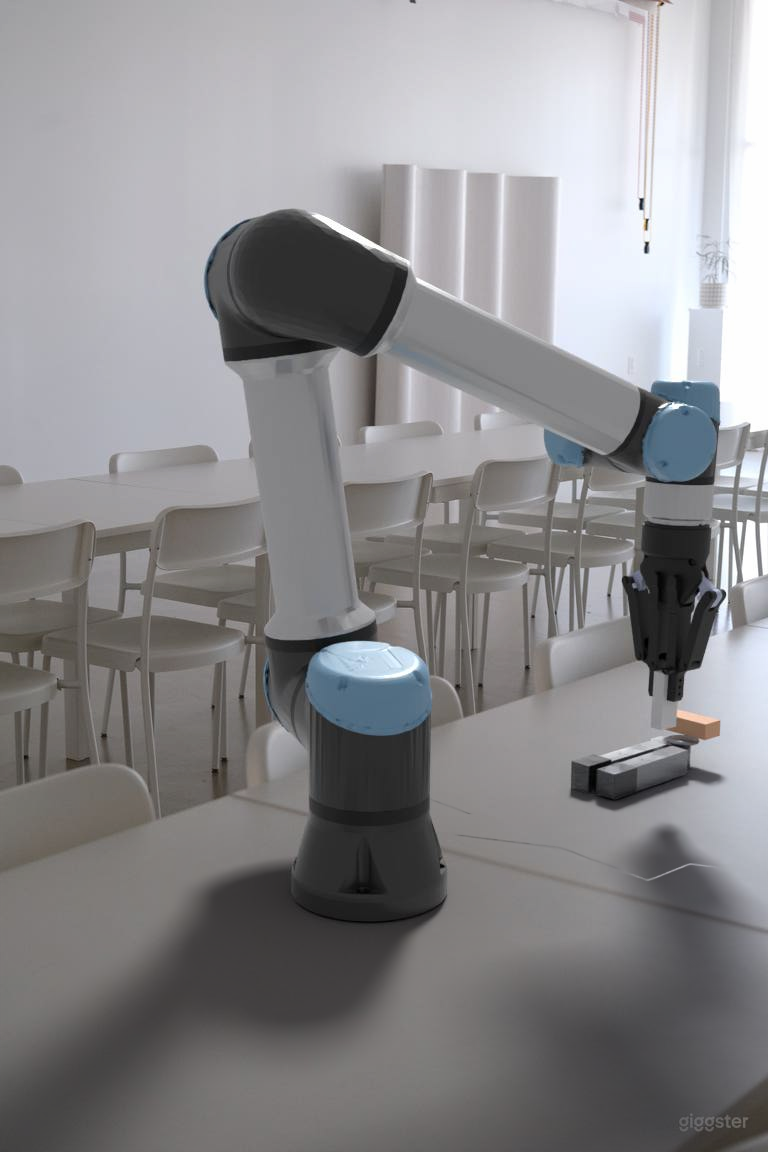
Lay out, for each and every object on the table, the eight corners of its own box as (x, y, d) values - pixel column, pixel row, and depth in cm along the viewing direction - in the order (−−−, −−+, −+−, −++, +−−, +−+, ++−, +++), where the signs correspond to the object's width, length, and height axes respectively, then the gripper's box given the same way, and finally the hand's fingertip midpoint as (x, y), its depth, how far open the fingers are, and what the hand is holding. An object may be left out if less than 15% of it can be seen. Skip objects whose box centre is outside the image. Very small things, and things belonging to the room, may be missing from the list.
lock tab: (677, 724, 176) (678, 709, 176) (719, 735, 171) (720, 720, 171) (663, 729, 174) (663, 713, 174) (704, 740, 170) (705, 724, 169)
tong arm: (678, 757, 175) (679, 732, 174) (709, 766, 171) (710, 741, 171) (582, 789, 162) (583, 763, 162) (614, 799, 159) (615, 772, 158)
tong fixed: (662, 758, 175) (663, 732, 175) (693, 767, 172) (694, 741, 171) (569, 787, 164) (569, 760, 164) (600, 797, 161) (601, 770, 160)
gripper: (747, 525, 151) (731, 734, 155) (651, 512, 161) (639, 709, 164) (705, 529, 146) (689, 745, 150) (609, 515, 156) (597, 719, 160)
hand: (663, 726), depth 157 cm, fingers closed
